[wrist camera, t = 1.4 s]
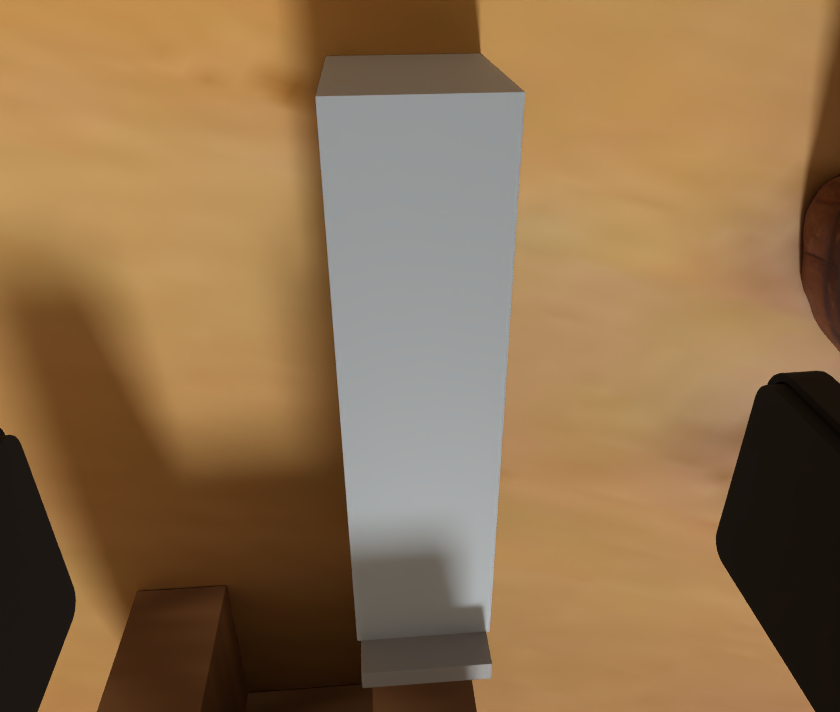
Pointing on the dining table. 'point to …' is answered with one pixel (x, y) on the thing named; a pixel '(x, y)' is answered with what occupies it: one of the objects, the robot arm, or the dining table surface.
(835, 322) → the wooden figurine
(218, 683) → the brown wooden u-shaped block
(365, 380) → the rail
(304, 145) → the dining table surface
